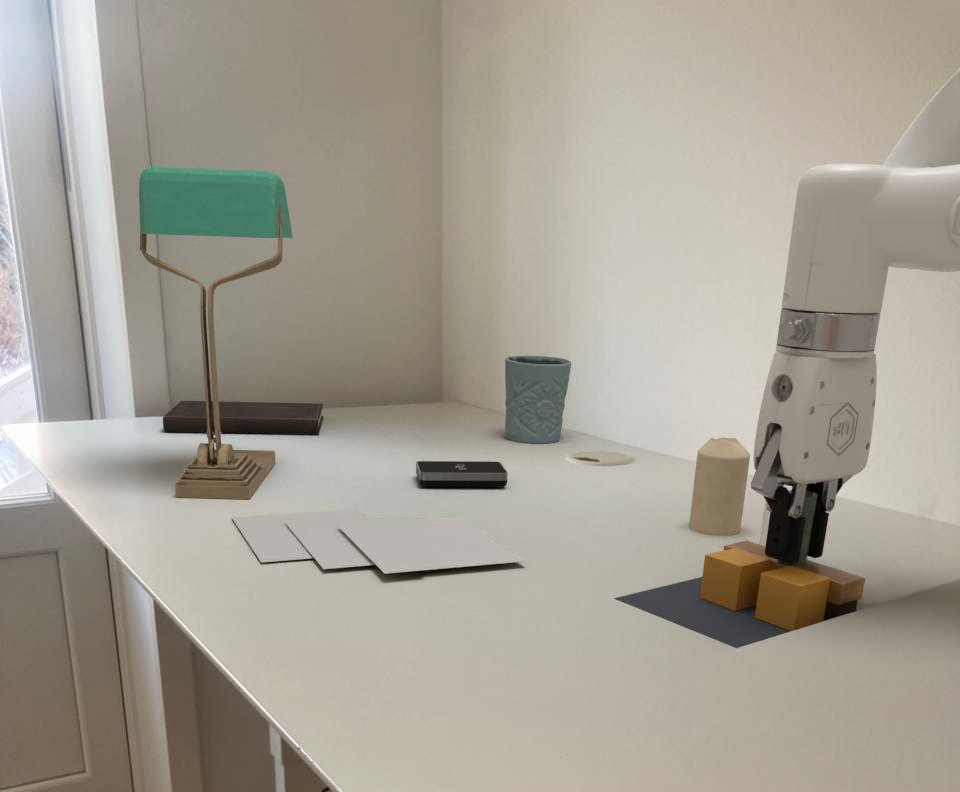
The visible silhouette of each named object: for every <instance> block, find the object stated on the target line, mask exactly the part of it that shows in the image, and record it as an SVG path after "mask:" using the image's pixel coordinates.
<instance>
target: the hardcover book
mask: <svg viewBox="0 0 960 792" xmlns="http://www.w3.org/2000/svg"><path fill="white" fill-rule="evenodd" d="M211 404H212V420H213V432H215V424H214V408H213V400H211ZM323 407H324V403H311V402H310V403H308V402H266V401H265V402H264V401H263V402H260V401H219V417H220V432H221V433H222V434H255V435H256V434H259V435H261V434H263V435H265V434H266V435H315V436H316V435H317V436H319V435H320V431H321V427H322V424H323V421H324V415H323V414H322V411H323ZM162 427H163V432H164V433H201V434H203V433H204V434H207V413H206V400H180V401H179V402H178V403H177V404H176V405H175V406H174V407H173V408H171V409H170V410H169V411H168V412H167V413H166V414H165V415H164V416H162Z"/></svg>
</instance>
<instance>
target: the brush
mask: <svg viewBox="0 0 960 792" xmlns="http://www.w3.org/2000/svg"><path fill="white" fill-rule="evenodd" d="M791 491H792V490H790V491H789V493H790V495H791ZM817 496H818V495H817V494H816V493H814V492H811V491H806V492H805V497H804V503H803V508H802V513H801V515H800V517H804V518H806V519H805V527H804V533H803V539H802V546H801V552H800V559H799V561H798V562H797V563H794V564H790V563H787V562H783V561H780V560H777V559H774V558H771V557H768V556H766V554H765V546H763V545H760V544H759V543H758V542H753V541H750V540H742V541H738V542H735V543H730V544H725V545H724V546H723V551H724V550H728V549H733V548H737V549H740V550H743V551H746V552H750V553H753V554H756V555H759V556H762V557H765V558H769V559H771V564H770V571H771V570H775V569H779V568H783V567H787V566H794V567H797V568H800V569H803V570H807V571H810V572H813V573H816V574H819V575H822V576H826V577H829V578H830V585H829V591H828V597H827V603H826V609H825V614H824V618H827V619H830V620H832V619H836V618H839V617H843V616H845V615H849V614H851V613H855V612H857V607H858V602H859V600H860V599H862V598H863V592H864V587H865V582H866V578H865V577H863V576H860V575H856V574H853V573H850V572H847V571H844V570H842V569H838V568H835V567H831V566H829V565H825V564H822V563H819V562H816V561H812V560H809V559H808V557H809V556H808V550H809V544H810V538H811V532H812V526H813V520H814V514H815V508H816V502H817Z"/></svg>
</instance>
